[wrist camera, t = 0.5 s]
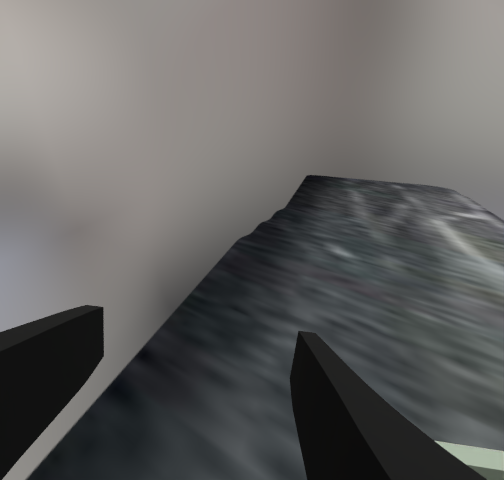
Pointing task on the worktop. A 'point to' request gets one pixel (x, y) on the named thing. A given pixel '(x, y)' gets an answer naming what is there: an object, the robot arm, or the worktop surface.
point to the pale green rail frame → (479, 459)
